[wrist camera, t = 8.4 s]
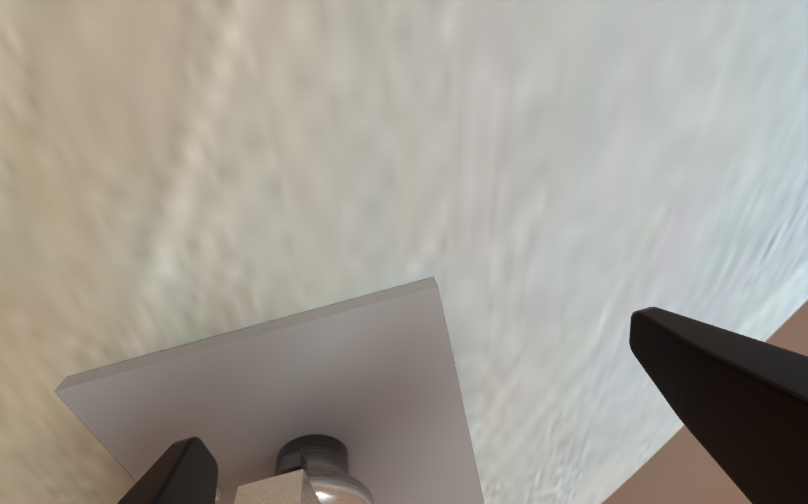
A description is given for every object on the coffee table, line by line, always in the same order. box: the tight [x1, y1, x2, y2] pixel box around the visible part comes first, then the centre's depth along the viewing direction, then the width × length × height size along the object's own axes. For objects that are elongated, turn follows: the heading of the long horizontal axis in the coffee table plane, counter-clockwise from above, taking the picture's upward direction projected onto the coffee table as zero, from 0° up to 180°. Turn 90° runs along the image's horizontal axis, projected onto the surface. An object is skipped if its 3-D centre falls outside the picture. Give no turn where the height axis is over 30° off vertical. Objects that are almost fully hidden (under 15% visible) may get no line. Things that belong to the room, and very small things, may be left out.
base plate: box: [54, 277, 484, 504], centre depth 24 cm, size 20×20×1 cm
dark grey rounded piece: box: [274, 434, 349, 477], centre depth 23 cm, size 4×6×3 cm
